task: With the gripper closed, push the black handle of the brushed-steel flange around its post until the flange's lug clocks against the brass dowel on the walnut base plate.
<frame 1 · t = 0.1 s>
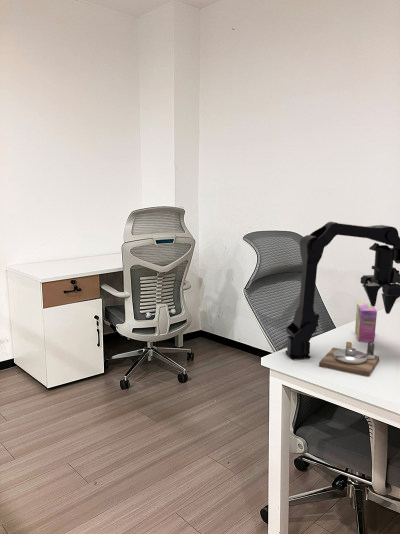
hand: (380, 309, 157), 15 cm above the table, tool pointing down, fingers open, 9 cm apart
flange: (354, 351, 148), point 4 cm above the table, hinge at -55.0°
box: (364, 338, 174), on the table
base plate: (349, 363, 149), on the table
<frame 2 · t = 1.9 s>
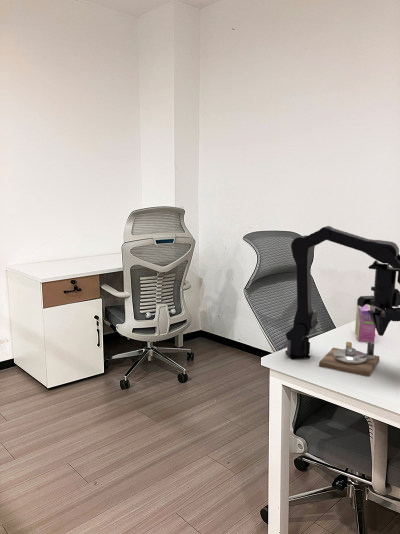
hand: (380, 335, 141), 11 cm above the table, tool pointing down, fingers closed
nothing on the table moved.
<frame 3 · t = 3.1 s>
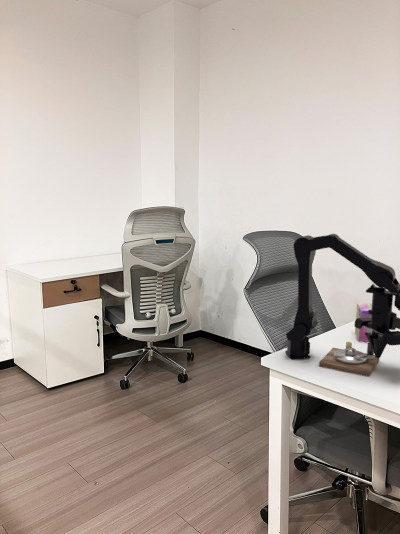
hand: (377, 357, 143), 4 cm above the table, tool pointing down, fingers closed
nothing on the table moved.
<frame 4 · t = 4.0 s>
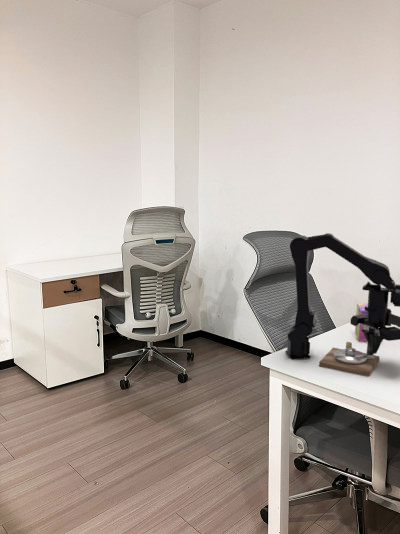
hand: (374, 353, 146), 4 cm above the table, tool pointing down, fingers closed
flange: (354, 351, 148), point 4 cm above the table, hinge at -53.3°, touching gripper
everything else where it was.
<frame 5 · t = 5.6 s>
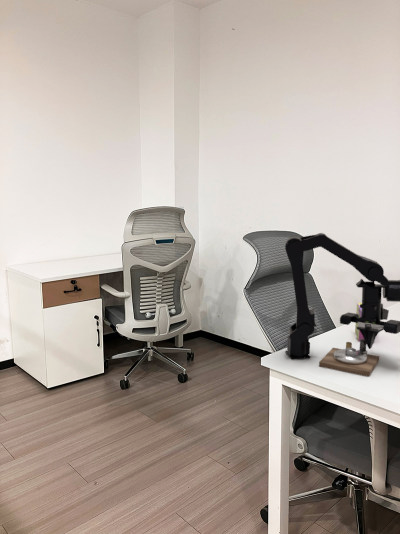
hand: (369, 348, 150), 4 cm above the table, tool pointing down, fingers closed
flange: (352, 350, 149), point 4 cm above the table, hinge at -22.4°, touching gripper
everything else where it was.
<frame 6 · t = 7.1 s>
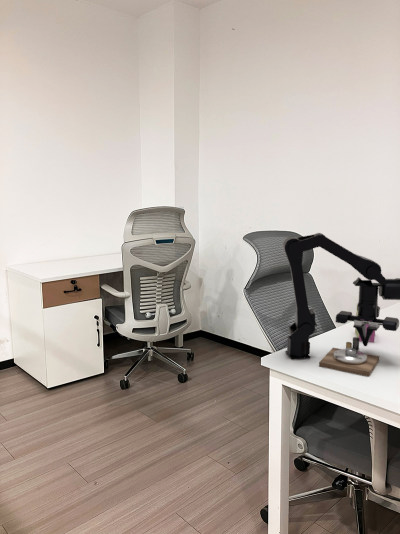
hand: (365, 345, 152), 4 cm above the table, tool pointing down, fingers closed
flange: (351, 349, 149), point 4 cm above the table, hinge at -0.7°
everything else where it was.
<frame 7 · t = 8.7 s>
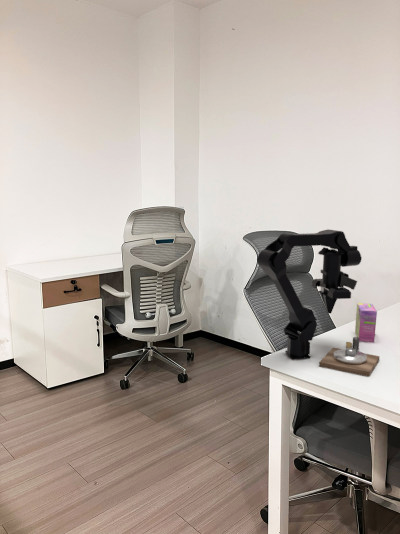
hand: (329, 313, 159), 13 cm above the table, tool pointing down, fingers closed
nothing on the table moved.
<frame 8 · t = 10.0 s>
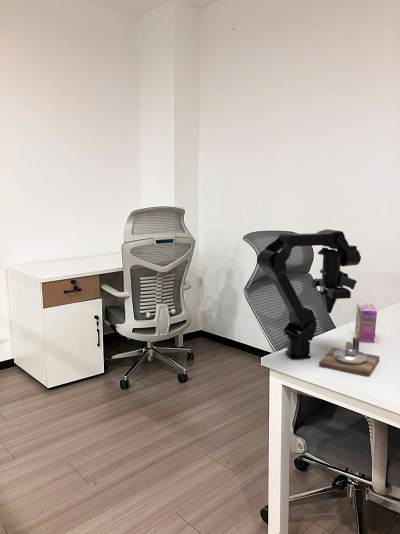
hand: (328, 312, 159), 13 cm above the table, tool pointing down, fingers closed
nothing on the table moved.
at the end: flange at -1° (first picture: -55°); box moved 0.3 cm from its start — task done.
